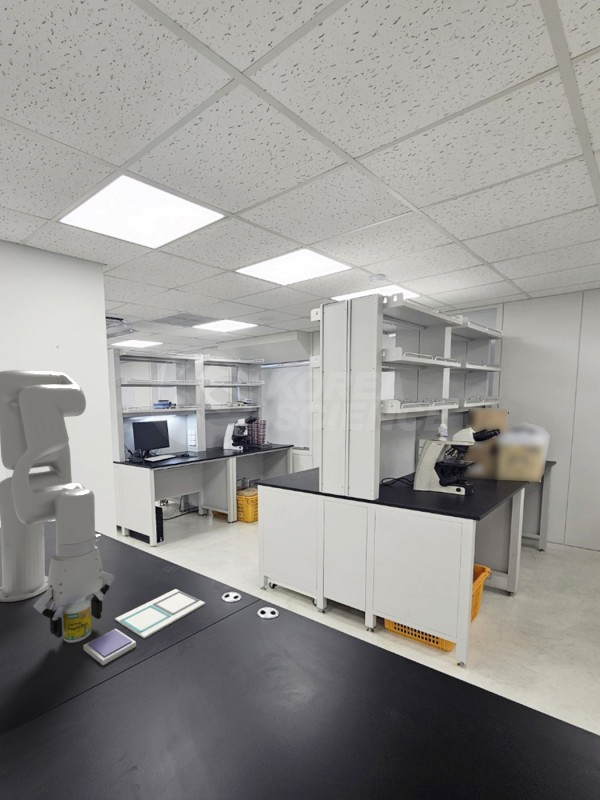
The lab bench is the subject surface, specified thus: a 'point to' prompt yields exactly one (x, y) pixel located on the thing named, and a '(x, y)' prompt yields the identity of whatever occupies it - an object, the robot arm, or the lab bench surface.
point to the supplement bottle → (77, 620)
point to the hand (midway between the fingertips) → (77, 625)
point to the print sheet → (159, 612)
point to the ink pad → (109, 646)
